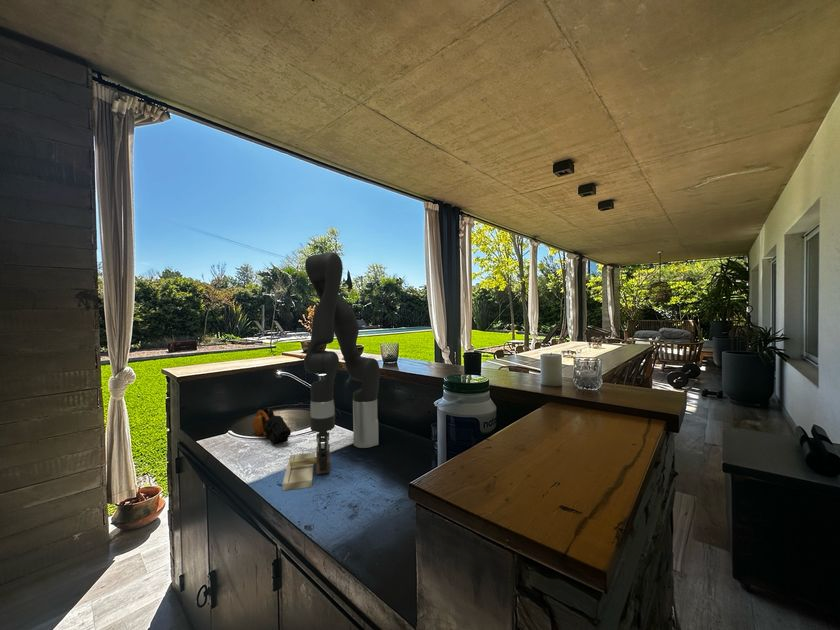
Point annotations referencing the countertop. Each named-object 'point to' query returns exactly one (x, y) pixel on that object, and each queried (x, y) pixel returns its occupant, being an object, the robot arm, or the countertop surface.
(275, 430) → the tool
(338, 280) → the robot arm
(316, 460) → the gauge
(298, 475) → the board
